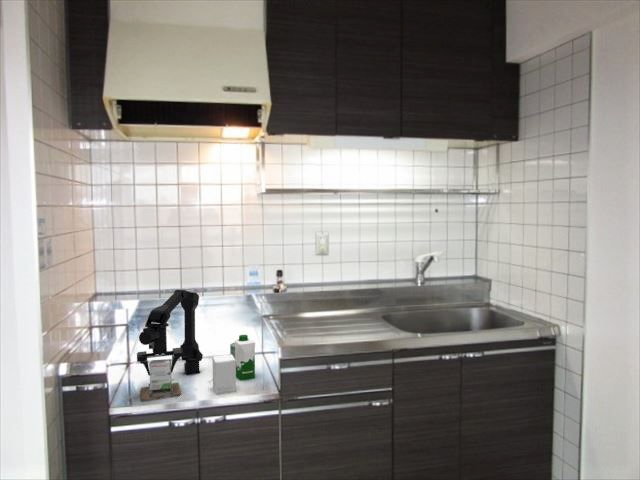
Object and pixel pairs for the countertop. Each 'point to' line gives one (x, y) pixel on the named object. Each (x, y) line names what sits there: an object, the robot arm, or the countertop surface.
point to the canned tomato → (232, 349)
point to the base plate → (159, 392)
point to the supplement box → (224, 374)
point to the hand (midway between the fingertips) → (160, 373)
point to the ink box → (160, 374)
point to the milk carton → (245, 358)
